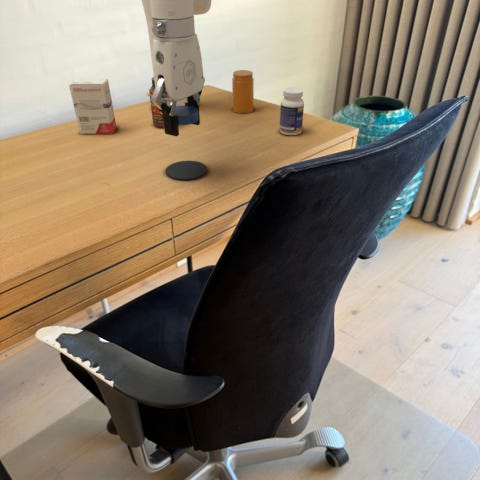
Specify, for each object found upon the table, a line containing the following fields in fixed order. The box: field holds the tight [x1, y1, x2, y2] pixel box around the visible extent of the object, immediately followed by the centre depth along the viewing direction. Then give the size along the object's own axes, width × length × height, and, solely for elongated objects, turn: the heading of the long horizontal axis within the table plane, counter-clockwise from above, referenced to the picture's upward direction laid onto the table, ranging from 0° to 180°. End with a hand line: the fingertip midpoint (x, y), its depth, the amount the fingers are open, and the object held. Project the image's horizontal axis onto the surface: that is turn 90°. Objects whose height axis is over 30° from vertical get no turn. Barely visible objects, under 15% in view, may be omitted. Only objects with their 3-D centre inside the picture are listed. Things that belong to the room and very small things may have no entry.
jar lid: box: [175, 106, 199, 126], centre depth 95 cm, size 6×6×2 cm
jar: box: [231, 69, 255, 114], centre depth 129 cm, size 6×6×10 cm
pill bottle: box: [279, 87, 305, 136], centre depth 117 cm, size 6×6×10 cm
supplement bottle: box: [148, 76, 171, 129], centre depth 121 cm, size 6×6×11 cm
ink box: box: [68, 78, 117, 135], centre depth 118 cm, size 8×5×12 cm, turn 89°
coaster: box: [165, 160, 208, 182], centre depth 103 cm, size 9×9×1 cm
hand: (182, 128), depth 97 cm, fingers closed on jar lid, 6 cm apart
